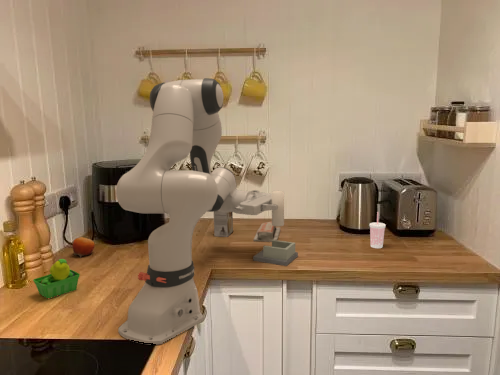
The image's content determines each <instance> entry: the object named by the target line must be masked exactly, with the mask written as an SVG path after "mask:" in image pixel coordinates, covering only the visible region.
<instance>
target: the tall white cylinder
mask: <svg viewBox="0 0 500 375" xmlns="http://www.w3.org/2000/svg"><path fill="white" fill-rule="evenodd" d="M271 194H272V205H273V204H275V205H278V209H277V210H271V221H272V225H273V226H276V227H283V226H284V225H285V191H284V190H283V191H282V190H273V191H271Z"/></svg>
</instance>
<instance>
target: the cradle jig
mask: <svg viewBox="0 0 500 375" xmlns="http://www.w3.org/2000/svg"><path fill="white" fill-rule="evenodd" d="M298 257H299V252H297V251H296V242H292V241H285V240H279V239H277V240H272V242H271V246H270V245H263V248H262V249H261V251H259V252H258V253H256V254H254V255H253V256H252V259H253V262H260V263H265V264H266V263H267V264H272V265H278V266H284V267H287V266H288V265H290V264H291V263H292V262H294V260H295V259H297V258H298Z"/></svg>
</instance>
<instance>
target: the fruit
mask: <svg viewBox="0 0 500 375" xmlns="http://www.w3.org/2000/svg"><path fill="white" fill-rule="evenodd" d="M71 247H72V251H73V255H74V256H79V258H80V259H81V258H82V257H83V256H88V255H89V256H90V255H91V254H92V252H93V250H94V249H95V241H94V240H92V239H90V238H87V237H82V236H80V237H76V238H75V239H74V240H73V242H72V246H71Z"/></svg>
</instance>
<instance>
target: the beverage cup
mask: <svg viewBox="0 0 500 375" xmlns="http://www.w3.org/2000/svg"><path fill="white" fill-rule="evenodd" d="M376 213H377V214H376V222H369V225H368V226H369V230H370V231H369V233H370V234H369V236H370V238H369V239H370V247H371V248H373V249H381V248H383V247H384V246H383V245H384V237H385V230H386V225H387V224H385V223H383V222H379V216H380V214H379V211H377V212H376Z"/></svg>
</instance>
